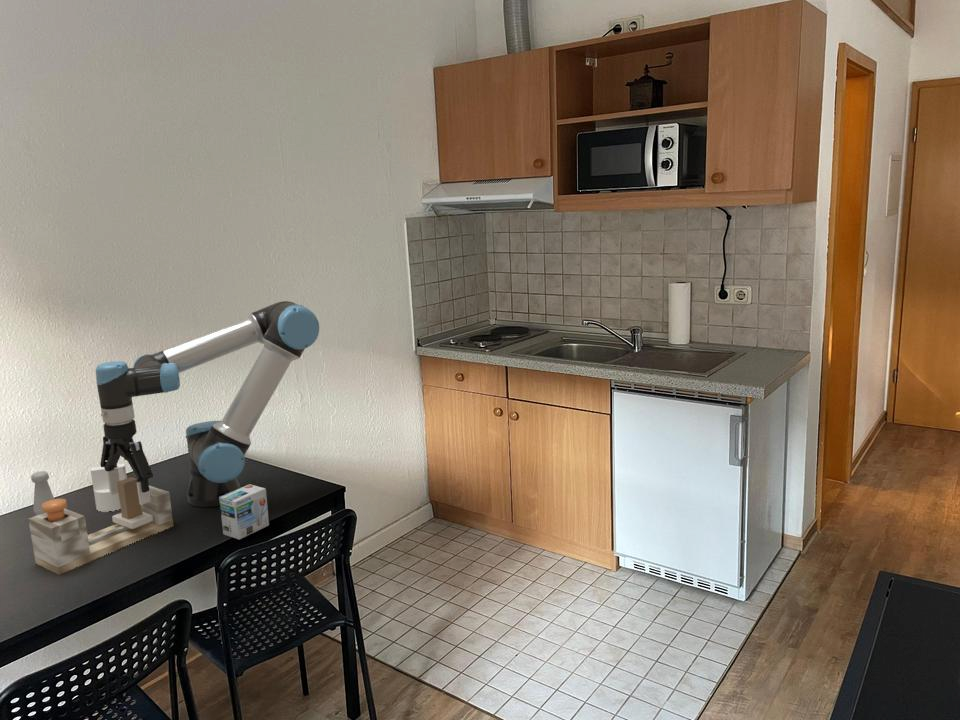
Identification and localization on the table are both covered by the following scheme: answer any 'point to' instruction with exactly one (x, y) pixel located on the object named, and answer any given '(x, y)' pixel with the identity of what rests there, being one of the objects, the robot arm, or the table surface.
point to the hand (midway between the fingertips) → (130, 498)
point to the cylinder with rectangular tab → (106, 488)
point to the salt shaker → (41, 491)
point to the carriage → (130, 505)
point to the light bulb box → (244, 511)
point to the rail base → (92, 535)
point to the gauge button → (54, 509)
